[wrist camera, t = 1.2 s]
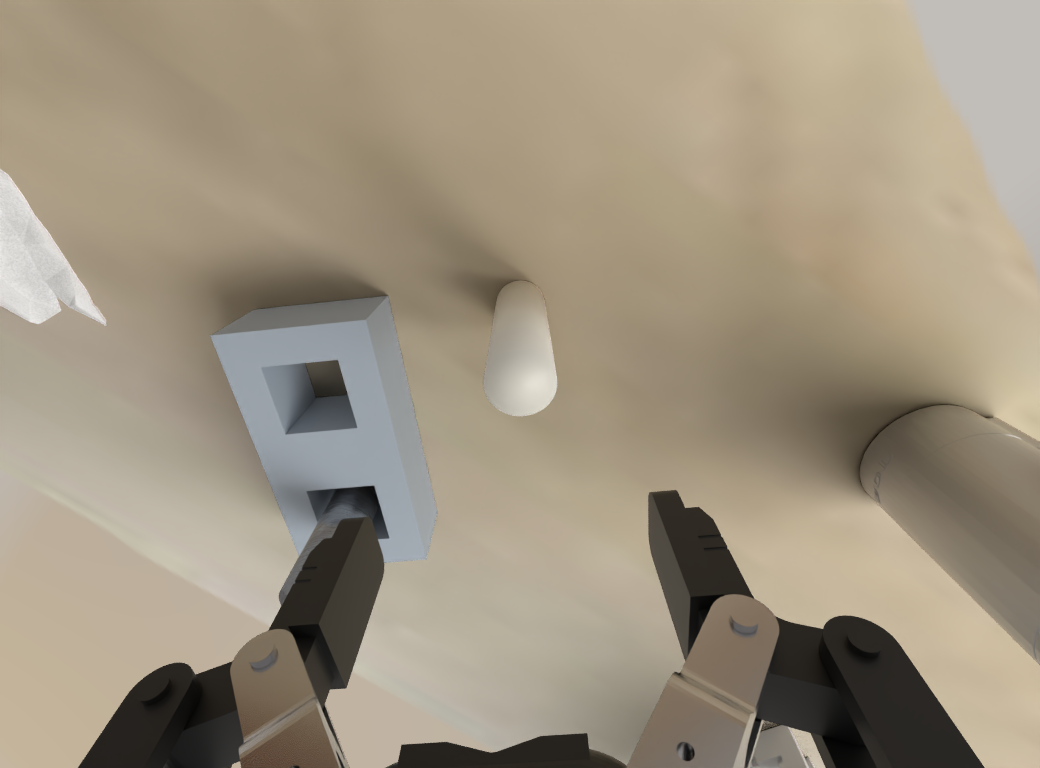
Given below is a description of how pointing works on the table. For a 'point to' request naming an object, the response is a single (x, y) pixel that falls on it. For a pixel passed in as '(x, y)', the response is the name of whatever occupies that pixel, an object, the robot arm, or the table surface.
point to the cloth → (34, 264)
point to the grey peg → (334, 523)
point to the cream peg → (520, 352)
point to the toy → (779, 750)
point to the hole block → (332, 416)
